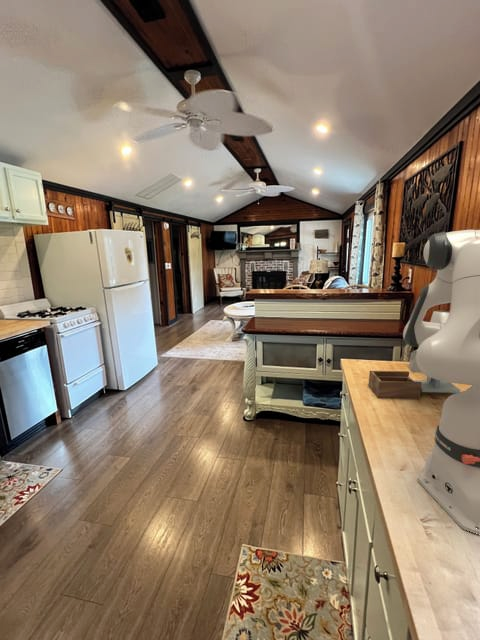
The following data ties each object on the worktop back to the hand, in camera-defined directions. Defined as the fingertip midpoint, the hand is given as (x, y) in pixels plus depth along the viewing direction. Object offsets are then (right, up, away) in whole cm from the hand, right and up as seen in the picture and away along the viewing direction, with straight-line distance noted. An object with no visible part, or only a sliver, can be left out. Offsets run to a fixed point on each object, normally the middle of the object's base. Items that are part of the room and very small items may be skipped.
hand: (433, 381), depth 125 cm
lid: (+1, -2, +1) cm, 3 cm away
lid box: (-16, -5, +2) cm, 17 cm away
